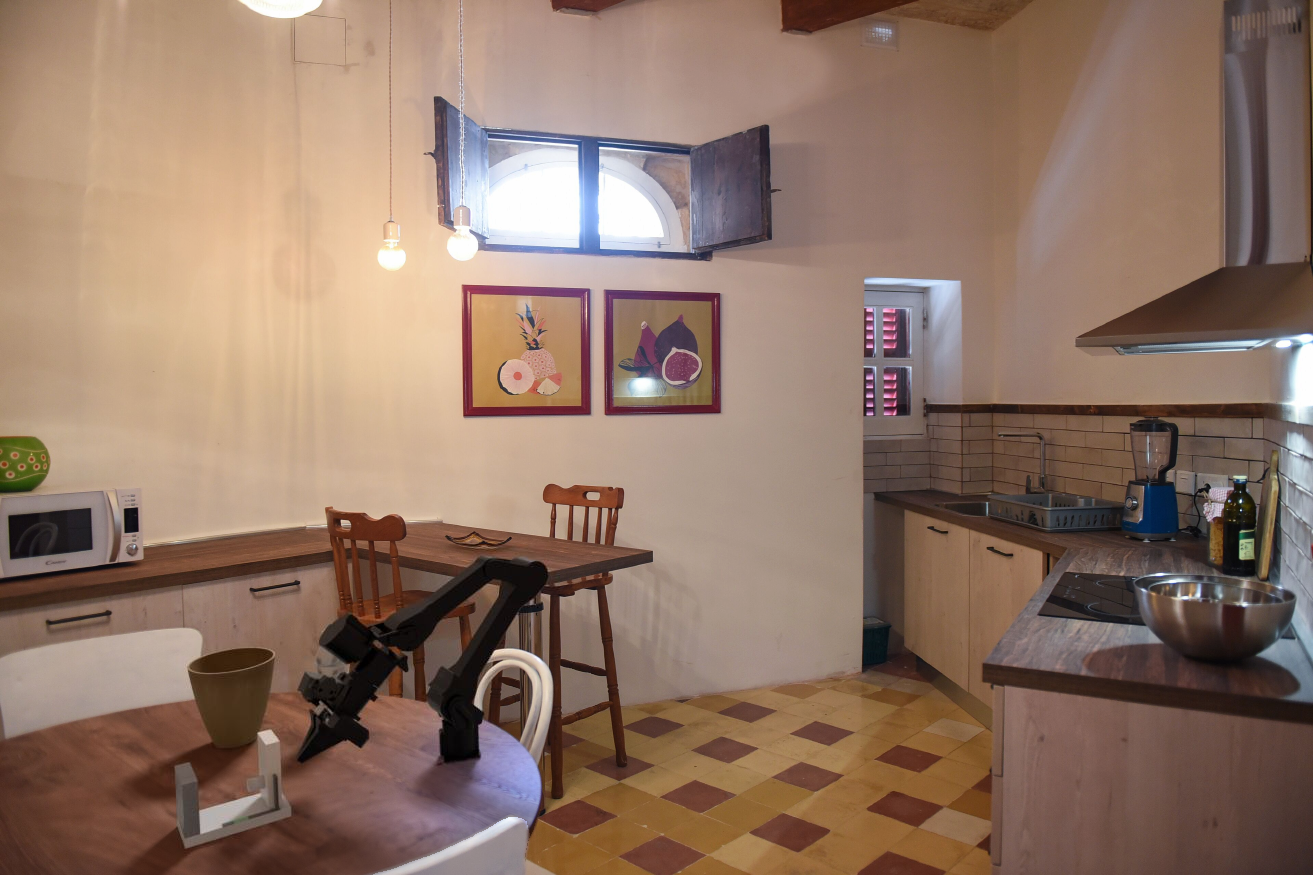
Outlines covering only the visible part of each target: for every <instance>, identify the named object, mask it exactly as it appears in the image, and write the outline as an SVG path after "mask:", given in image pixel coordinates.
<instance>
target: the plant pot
mask: <svg viewBox="0 0 1313 875" xmlns="http://www.w3.org/2000/svg"><path fill="white" fill-rule="evenodd" d="M275 657H276V652H275V651H273V649H269V648H266V647H258V646H252V647H251V646H244V647H235V648H229V649H222V650H219V651H214V652H211V653H207V654H205V655H201V656H199V657H197V658H195V659H194V660H192V661H191V662H189V663H188V665H186V666H187V667H186V668H187V674H188V677H189V682H190V686H191V690H192V693H193V697H194V701H195V704H196V706H197V709H198V712H199V714H200V718H201V720H202V722H203V724H204V727H205V729H206V731H207V733H208V735H209V737H210V740H211V741H212V743H213V744H214V746H215V747H217V748H219V749H233V748H239V747H240V748H241V747H244V746H246V745H249V744H251V743H252V742H254V741H256V739H258V734H257V733H258V732H261V731H260V730H261V728H262V724H263V722H264V718H265V714H266V711H267V708H268V707H267V706H268V703H269V699H270V695H271V690H272V681H273V678H274V676H273V674H274V668H275V661H276V658H275Z"/></svg>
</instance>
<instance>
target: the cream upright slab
mask: <svg viewBox="0 0 1313 875" xmlns="http://www.w3.org/2000/svg"><path fill="white" fill-rule="evenodd" d="M257 734H258V736H257V753H258V776H254V777H251V778H247V779H246V787H247V791H248V793H252V792H256V791H259V793H260V794H261V796H262V798H263V799H264V801H265V803H266V804H267V806H268V808H271V807H274V806H275V808H276V809H278V808H279V805H281V804H282V794H283V788H282V763H281V762H282V760H281V759H282V758H281V742H280V741H281V740H279V738H278V737H277V736H276V734H275V733H274V732H273V730H272V729H266V730H263V731H259V732H258V733H257Z"/></svg>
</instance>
